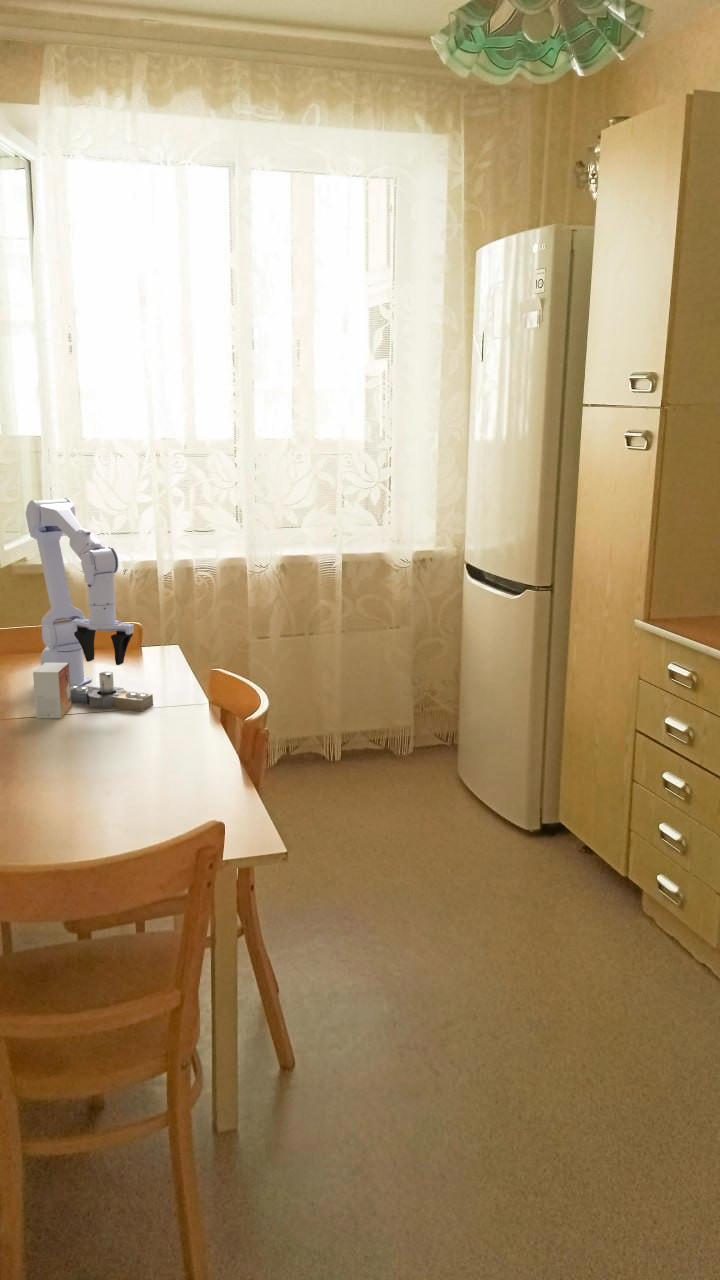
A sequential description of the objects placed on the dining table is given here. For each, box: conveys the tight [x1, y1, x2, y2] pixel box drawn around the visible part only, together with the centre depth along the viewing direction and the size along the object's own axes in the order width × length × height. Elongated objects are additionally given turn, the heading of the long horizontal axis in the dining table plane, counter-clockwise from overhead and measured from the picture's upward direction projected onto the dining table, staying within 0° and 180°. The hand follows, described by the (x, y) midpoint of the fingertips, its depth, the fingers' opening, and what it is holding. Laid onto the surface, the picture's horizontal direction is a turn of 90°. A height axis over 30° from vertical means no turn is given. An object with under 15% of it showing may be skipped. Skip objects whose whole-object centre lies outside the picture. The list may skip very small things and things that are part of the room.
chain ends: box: [70, 685, 154, 713], centre depth 230 cm, size 21×8×3 cm, turn 71°
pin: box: [98, 671, 115, 695], centre depth 230 cm, size 3×3×7 cm
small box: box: [32, 663, 72, 719], centre depth 222 cm, size 8×6×10 cm
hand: (104, 662), depth 228 cm, fingers open, 7 cm apart
